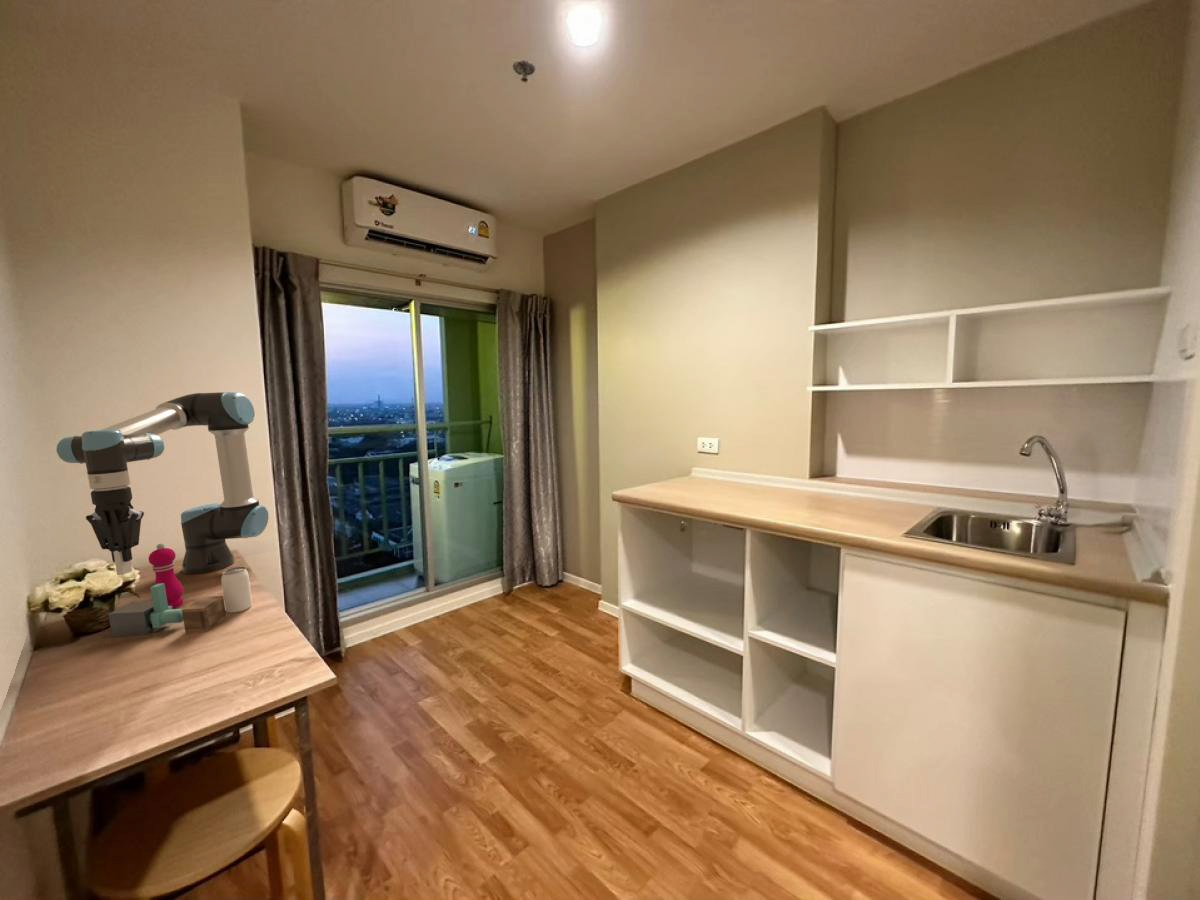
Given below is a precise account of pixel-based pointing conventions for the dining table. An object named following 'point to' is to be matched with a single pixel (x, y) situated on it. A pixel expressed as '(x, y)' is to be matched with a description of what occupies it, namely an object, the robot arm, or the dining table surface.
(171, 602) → the pepper mill
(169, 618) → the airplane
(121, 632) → the gray block
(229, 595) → the can
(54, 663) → the dining table surface
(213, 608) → the socket
